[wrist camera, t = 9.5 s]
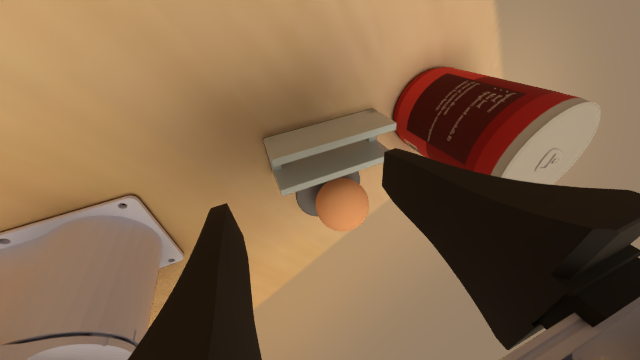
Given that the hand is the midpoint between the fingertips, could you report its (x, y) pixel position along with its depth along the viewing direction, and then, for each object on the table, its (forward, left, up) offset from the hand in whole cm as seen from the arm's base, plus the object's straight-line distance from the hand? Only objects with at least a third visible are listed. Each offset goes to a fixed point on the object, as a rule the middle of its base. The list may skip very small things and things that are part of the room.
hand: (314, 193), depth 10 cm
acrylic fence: (+4, -3, -10) cm, 11 cm away
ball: (+4, -9, -10) cm, 14 cm away
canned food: (+15, -3, -10) cm, 18 cm away
